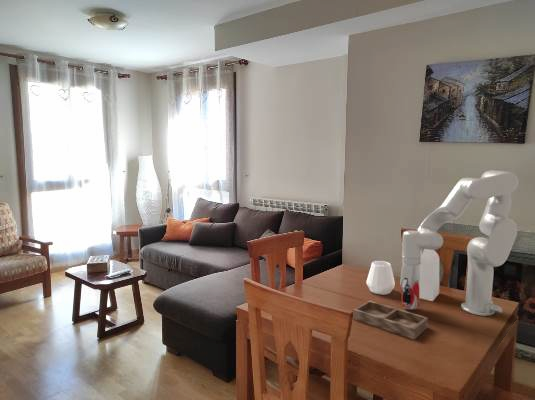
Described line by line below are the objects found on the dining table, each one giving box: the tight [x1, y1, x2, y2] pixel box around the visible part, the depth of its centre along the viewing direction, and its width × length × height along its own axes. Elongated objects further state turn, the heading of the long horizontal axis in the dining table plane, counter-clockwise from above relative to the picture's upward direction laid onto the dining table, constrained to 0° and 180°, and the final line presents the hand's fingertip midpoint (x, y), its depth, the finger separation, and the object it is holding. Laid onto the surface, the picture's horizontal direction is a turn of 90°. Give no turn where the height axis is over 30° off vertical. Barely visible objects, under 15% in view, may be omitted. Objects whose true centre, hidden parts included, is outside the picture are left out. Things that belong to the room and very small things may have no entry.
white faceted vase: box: [366, 260, 396, 296], centre depth 185 cm, size 13×13×14 cm
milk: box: [419, 249, 440, 302], centre depth 180 cm, size 12×12×26 cm
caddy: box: [352, 300, 429, 340], centre depth 151 cm, size 25×13×4 cm, turn 47°
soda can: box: [401, 281, 420, 311], centre depth 163 cm, size 7×7×12 cm
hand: (410, 299), depth 163 cm, fingers closed on soda can, 7 cm apart
